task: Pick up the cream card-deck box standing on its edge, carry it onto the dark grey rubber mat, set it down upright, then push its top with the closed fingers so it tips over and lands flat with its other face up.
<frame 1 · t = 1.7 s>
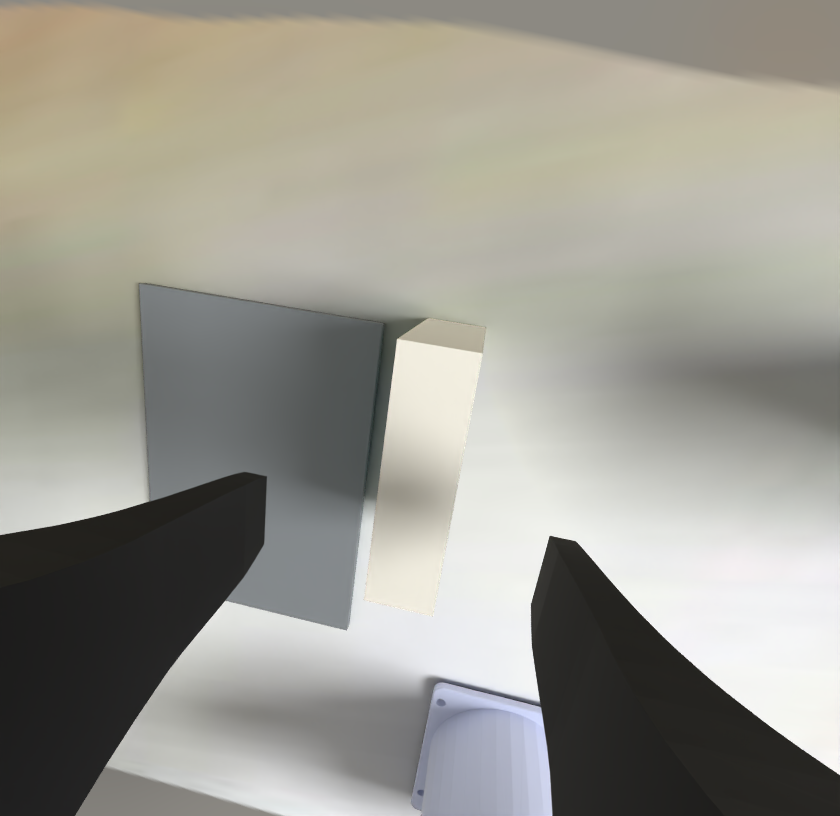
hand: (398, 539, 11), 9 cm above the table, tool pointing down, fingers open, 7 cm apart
mat: (256, 468, 22), on the table
deck: (440, 424, 20), on the table
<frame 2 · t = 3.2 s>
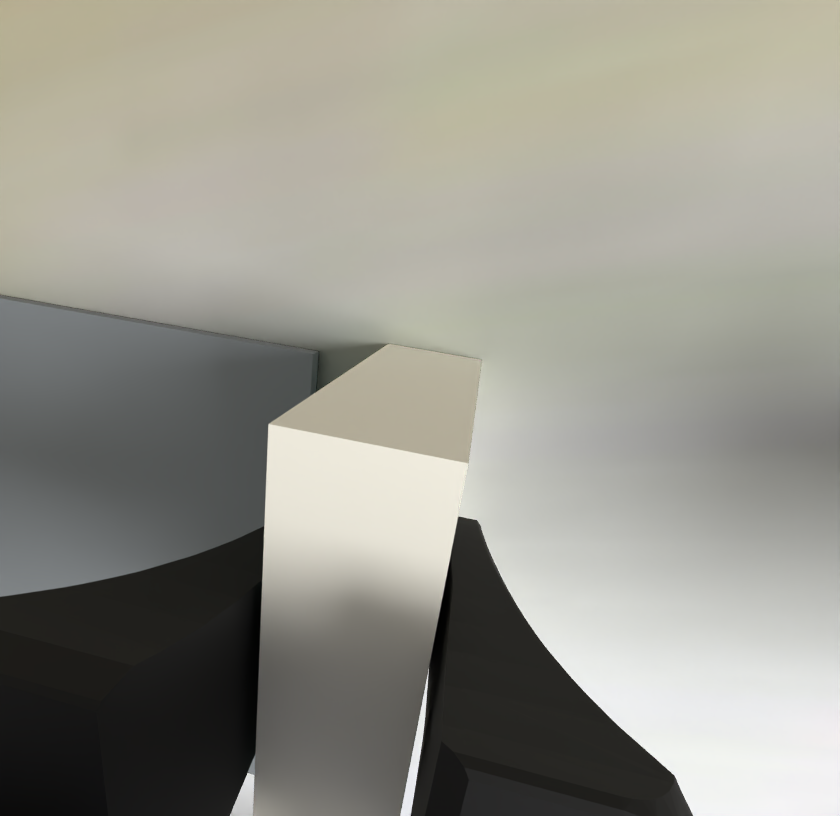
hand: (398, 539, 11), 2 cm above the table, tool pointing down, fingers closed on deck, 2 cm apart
mat: (143, 560, 15), on the table
deck: (410, 507, 13), on the table, touching gripper
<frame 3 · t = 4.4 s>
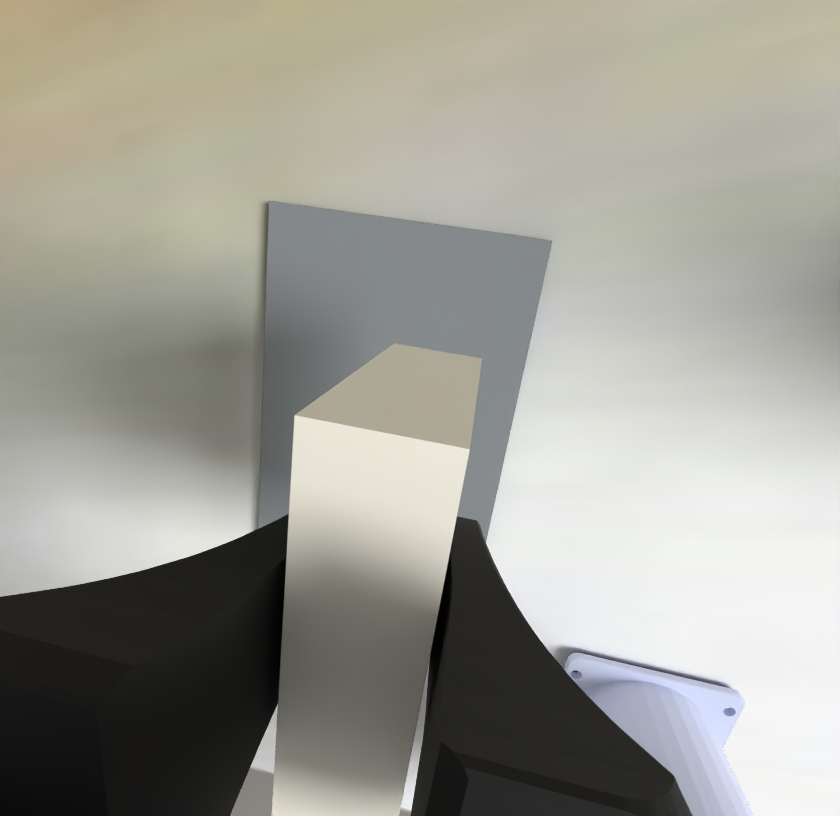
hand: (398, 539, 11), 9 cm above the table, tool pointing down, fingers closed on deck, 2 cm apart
mat: (383, 414, 20), on the table
deck: (414, 497, 13), point 6 cm above the table, touching gripper
when the fingers open (3 cm above the table, at t = 5.8 s): deck stays where it is, resting on mat.
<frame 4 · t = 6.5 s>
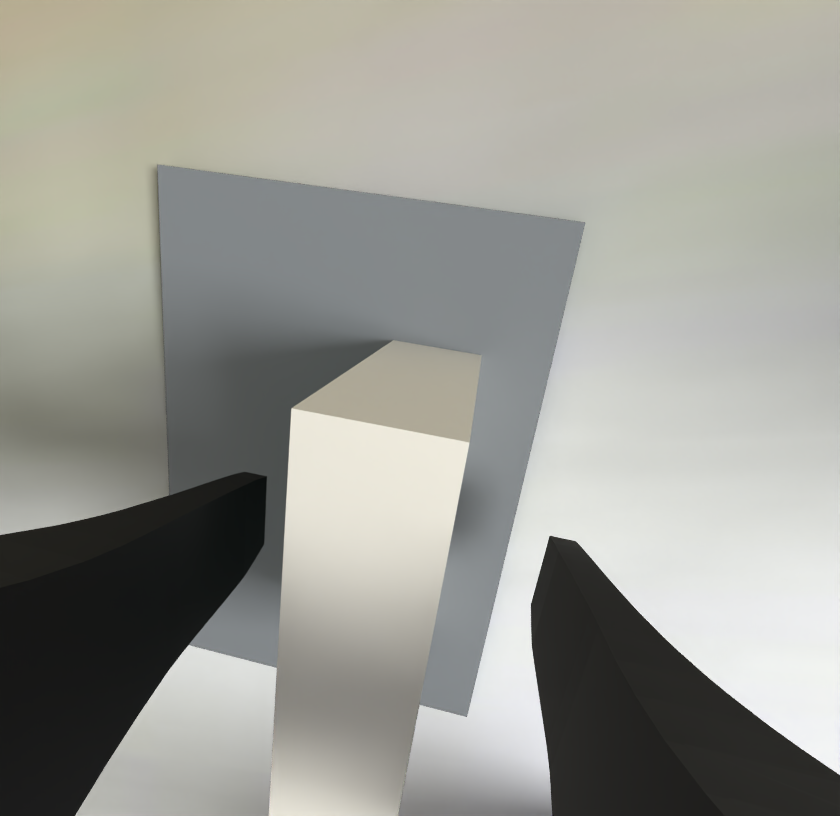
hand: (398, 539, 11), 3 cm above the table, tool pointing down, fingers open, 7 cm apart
mat: (338, 473, 14), on the table
deck: (413, 496, 13), resting on mat
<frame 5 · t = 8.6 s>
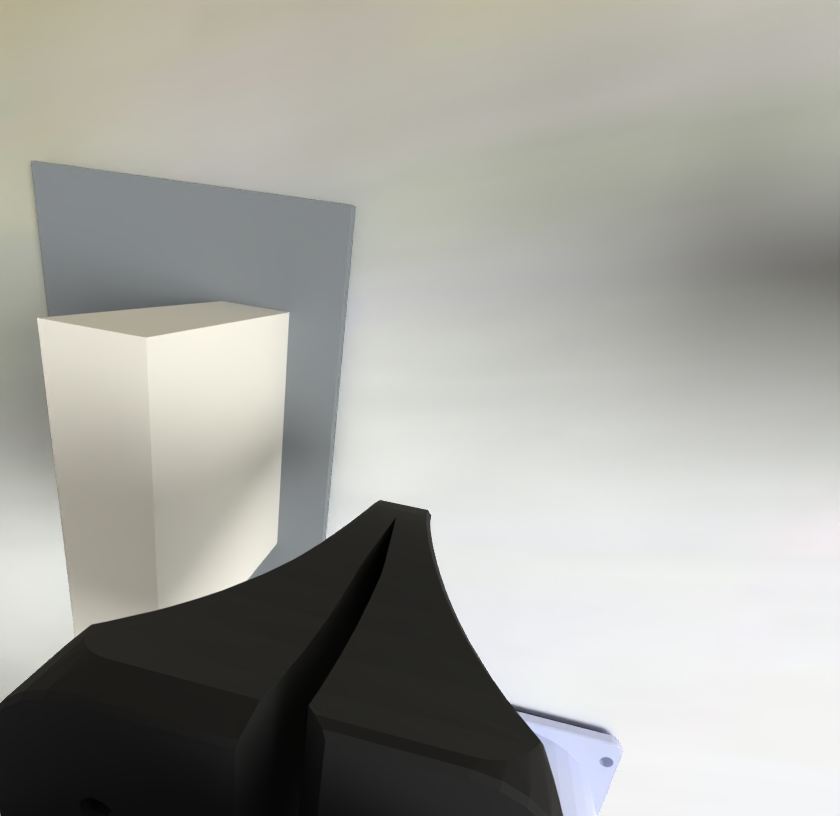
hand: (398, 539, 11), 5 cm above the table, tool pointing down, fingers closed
mat: (195, 415, 17), on the table
deck: (251, 431, 16), resting on mat
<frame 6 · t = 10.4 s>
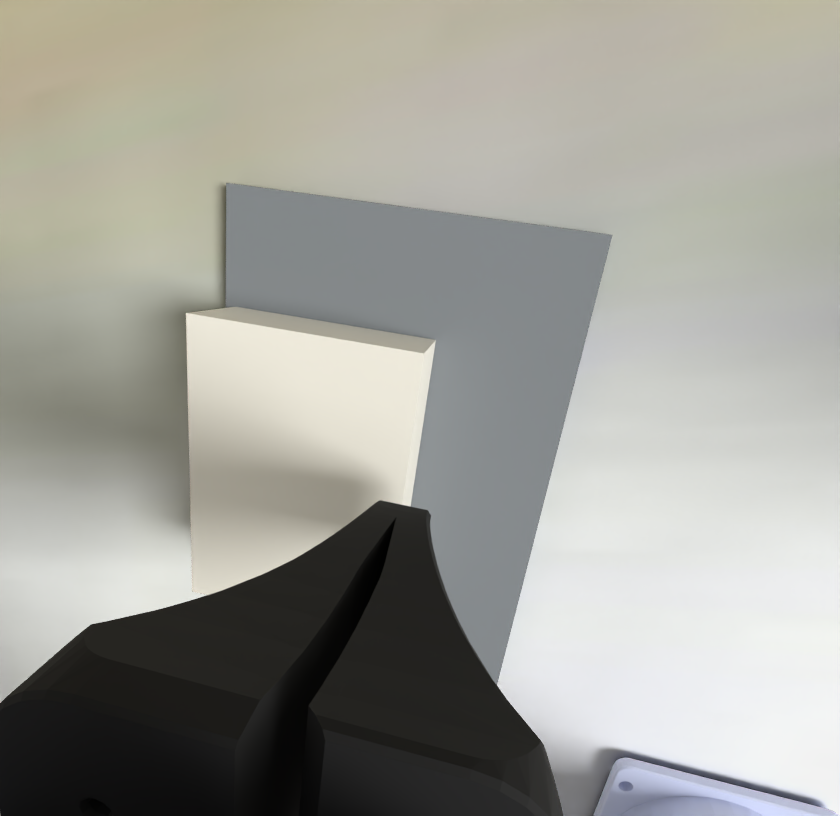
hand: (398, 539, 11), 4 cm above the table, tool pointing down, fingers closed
mat: (381, 461, 15), on the table
deck: (408, 491, 14), point 2 cm above the table, tilted 90°, touching mat
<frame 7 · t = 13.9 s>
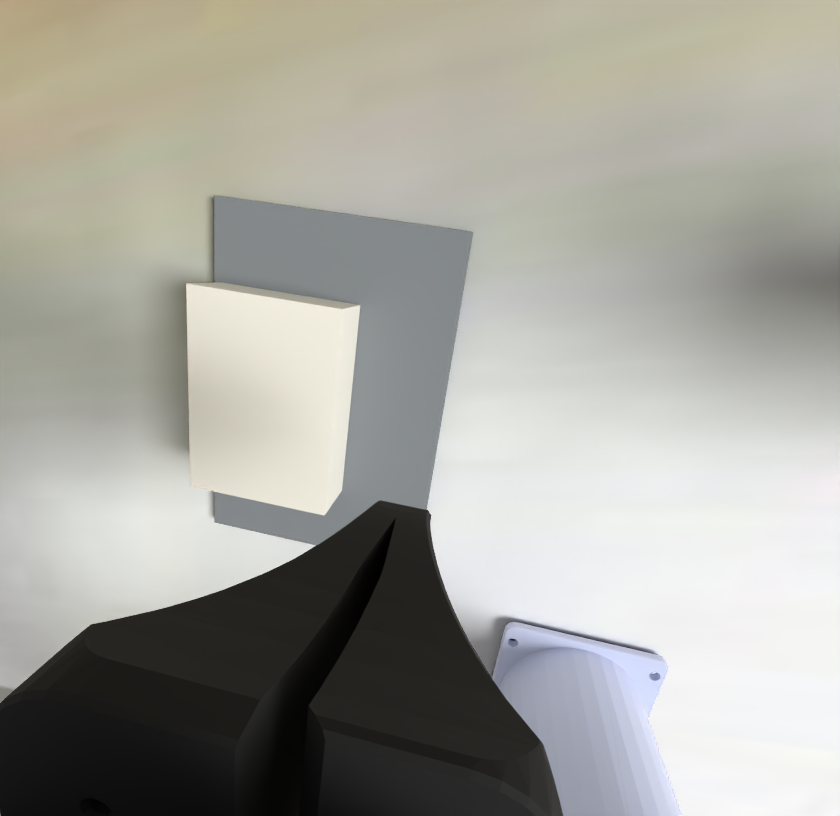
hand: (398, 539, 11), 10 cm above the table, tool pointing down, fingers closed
mat: (327, 396, 21), on the table
deck: (342, 411, 19), point 2 cm above the table, tilted 90°, touching mat
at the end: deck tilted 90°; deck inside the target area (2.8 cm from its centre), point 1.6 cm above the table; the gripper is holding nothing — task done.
